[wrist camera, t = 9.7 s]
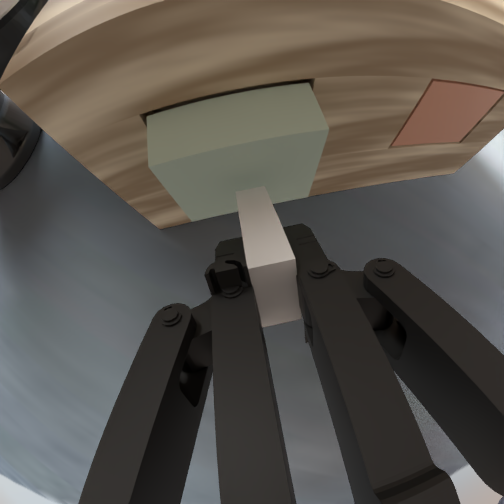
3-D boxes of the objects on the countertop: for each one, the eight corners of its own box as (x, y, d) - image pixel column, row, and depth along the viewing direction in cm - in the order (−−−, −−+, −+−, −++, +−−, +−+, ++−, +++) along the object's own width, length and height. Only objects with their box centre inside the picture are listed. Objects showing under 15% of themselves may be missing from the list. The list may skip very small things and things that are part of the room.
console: (453, 173, 28) (566, 62, 6) (159, 229, 28) (-3, 86, 6) (420, 107, 30) (491, -17, 8) (152, 147, 30) (55, -9, 9)
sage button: (307, 197, 19) (329, 129, 12) (192, 221, 20) (148, 167, 12) (296, 159, 20) (308, 82, 12) (186, 183, 20) (146, 116, 12)
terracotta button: (459, 141, 20) (504, 92, 12) (391, 146, 20) (433, 81, 12) (444, 115, 21) (483, 63, 13) (377, 116, 21) (409, 48, 13)
